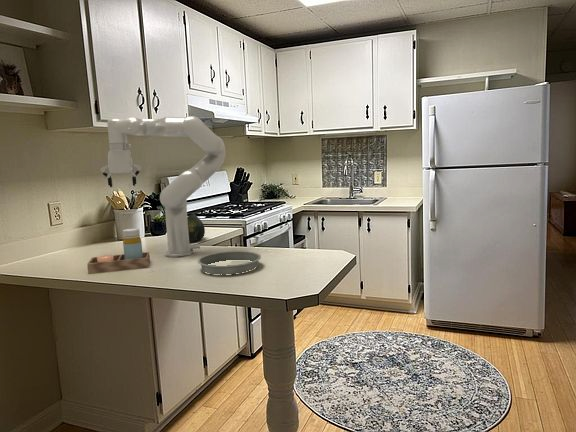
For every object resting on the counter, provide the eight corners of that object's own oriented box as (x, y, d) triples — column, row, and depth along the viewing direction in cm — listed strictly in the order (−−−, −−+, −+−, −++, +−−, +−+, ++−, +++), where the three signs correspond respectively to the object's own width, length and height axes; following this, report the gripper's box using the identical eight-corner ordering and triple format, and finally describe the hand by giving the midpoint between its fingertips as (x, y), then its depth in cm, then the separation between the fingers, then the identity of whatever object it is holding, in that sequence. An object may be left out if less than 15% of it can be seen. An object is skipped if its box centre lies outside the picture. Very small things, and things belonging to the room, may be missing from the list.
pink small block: (115, 266, 182) (114, 254, 181) (113, 269, 176) (112, 257, 175) (99, 267, 180) (98, 255, 180) (97, 271, 175) (95, 259, 174)
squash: (168, 234, 224) (186, 211, 223) (175, 230, 239) (192, 208, 238) (190, 251, 225) (208, 229, 224) (196, 246, 240) (213, 225, 239)
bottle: (133, 268, 176) (129, 231, 174) (121, 266, 180) (118, 230, 178) (147, 264, 182) (143, 228, 180) (135, 262, 186) (132, 227, 184)
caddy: (150, 263, 188) (149, 251, 187) (148, 270, 177) (147, 257, 176) (93, 269, 183) (92, 257, 182) (88, 276, 172) (87, 263, 171)
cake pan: (245, 279, 159) (244, 267, 158) (186, 275, 167) (185, 264, 166) (271, 262, 181) (270, 251, 181) (218, 259, 190) (217, 249, 189)
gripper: (140, 146, 200) (143, 184, 203) (99, 148, 196) (103, 187, 198) (138, 146, 193) (142, 185, 195) (96, 148, 189) (100, 188, 191)
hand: (122, 186), depth 197 cm, fingers open, 9 cm apart
